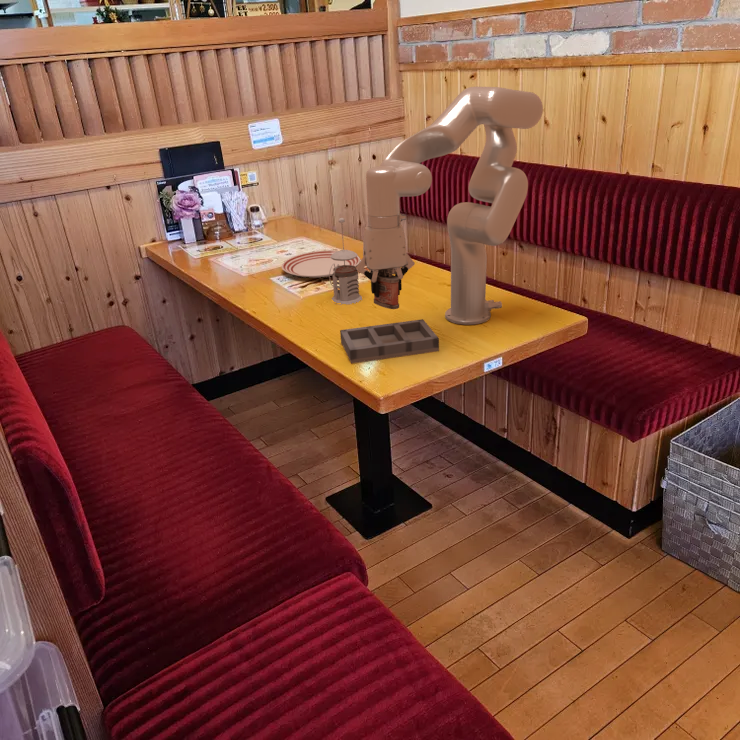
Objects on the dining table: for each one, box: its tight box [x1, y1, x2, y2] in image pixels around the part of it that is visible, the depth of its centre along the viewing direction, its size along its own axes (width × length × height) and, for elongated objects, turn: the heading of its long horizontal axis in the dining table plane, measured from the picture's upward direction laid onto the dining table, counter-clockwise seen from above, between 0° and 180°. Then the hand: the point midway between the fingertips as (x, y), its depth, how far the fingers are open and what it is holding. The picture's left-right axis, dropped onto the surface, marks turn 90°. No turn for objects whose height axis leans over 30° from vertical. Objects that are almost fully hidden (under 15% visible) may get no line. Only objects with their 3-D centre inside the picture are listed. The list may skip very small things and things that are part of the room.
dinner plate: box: [281, 249, 361, 279], centre depth 233 cm, size 27×27×3 cm
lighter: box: [373, 268, 400, 310], centre depth 165 cm, size 8×3×10 cm, turn 42°
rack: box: [339, 318, 440, 364], centre depth 171 cm, size 22×14×4 cm, turn 103°
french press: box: [328, 217, 363, 305], centre depth 200 cm, size 10×12×25 cm
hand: (386, 293), depth 166 cm, fingers closed on lighter, 4 cm apart
